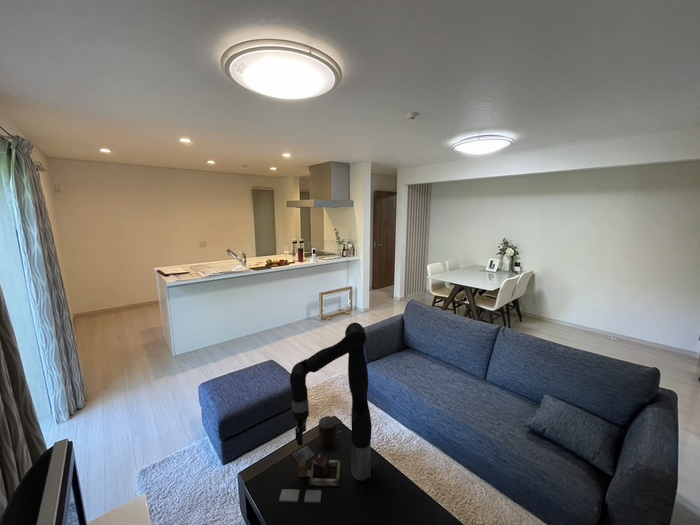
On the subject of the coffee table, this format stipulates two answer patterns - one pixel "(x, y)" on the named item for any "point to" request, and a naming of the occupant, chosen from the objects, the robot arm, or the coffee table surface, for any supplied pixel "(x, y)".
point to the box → (321, 467)
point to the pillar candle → (327, 433)
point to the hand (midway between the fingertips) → (302, 437)
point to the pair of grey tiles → (293, 495)
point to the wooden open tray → (319, 481)
